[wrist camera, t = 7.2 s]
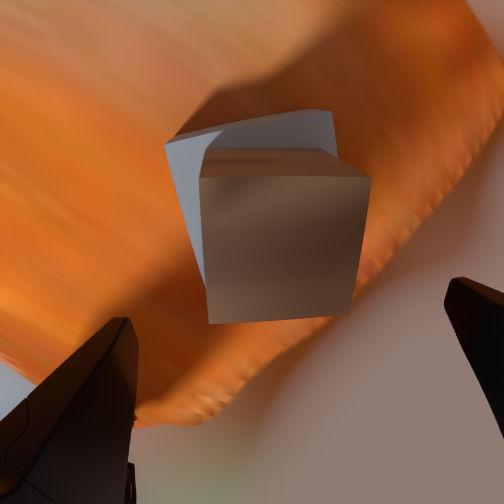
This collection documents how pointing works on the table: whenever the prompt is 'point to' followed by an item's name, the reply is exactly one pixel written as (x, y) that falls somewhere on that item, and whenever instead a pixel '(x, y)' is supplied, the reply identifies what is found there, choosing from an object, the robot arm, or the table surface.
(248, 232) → the walnut cube
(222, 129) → the plinth block
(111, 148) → the table surface
